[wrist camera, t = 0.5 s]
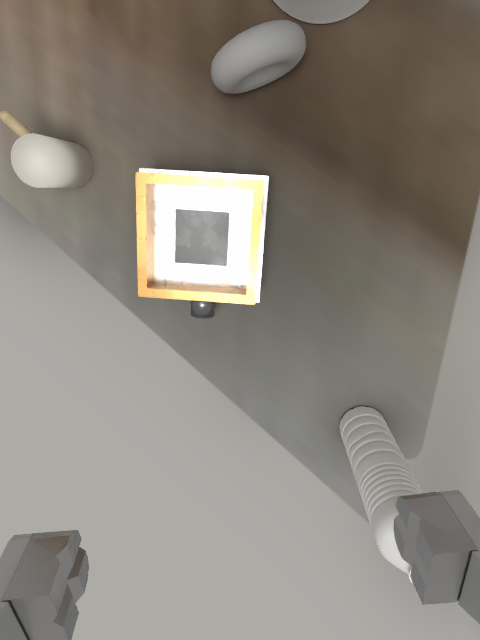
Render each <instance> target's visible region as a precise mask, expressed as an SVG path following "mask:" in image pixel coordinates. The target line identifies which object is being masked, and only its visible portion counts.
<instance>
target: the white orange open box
mask: <svg viewBox="0 0 480 640" xmlns="http://www.w3.org/2000/svg"><path fill="white" fill-rule="evenodd" d="M268 181H269V176H260V175H244V174H228V173H212V172H195V171H179V170H163V169H147V168H139V172H136V212H137V261H138V296H139V297H153V298H168V299H182V300H191V315H192V316H193V317H197V318H210V317H213V316H214V314H215V302H224V303H239V304H253V305H255V302H259V298H260V285H261V272H262V259H263V246H264V233H265V220H266V207H267V194H268Z"/></svg>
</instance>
